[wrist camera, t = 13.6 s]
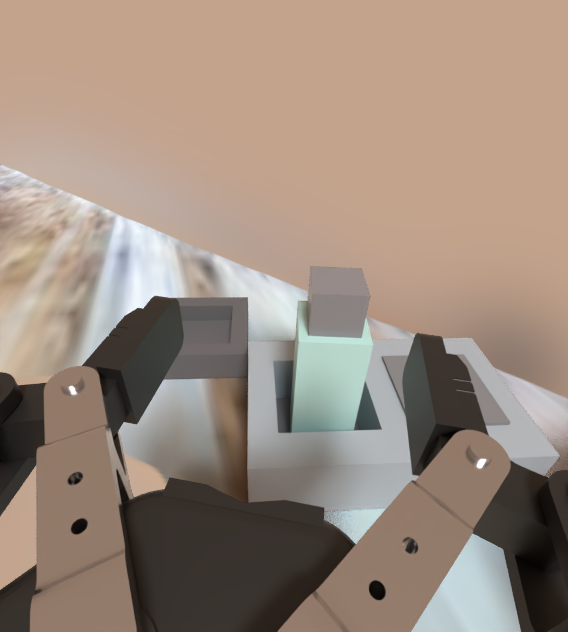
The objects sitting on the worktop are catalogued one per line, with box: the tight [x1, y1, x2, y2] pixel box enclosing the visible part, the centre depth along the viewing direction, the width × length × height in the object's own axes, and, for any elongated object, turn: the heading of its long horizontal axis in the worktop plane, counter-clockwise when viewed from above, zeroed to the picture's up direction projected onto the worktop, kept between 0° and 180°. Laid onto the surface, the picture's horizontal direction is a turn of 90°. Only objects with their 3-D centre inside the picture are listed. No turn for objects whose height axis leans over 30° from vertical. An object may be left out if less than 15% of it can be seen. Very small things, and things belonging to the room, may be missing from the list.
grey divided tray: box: [247, 338, 560, 511], centre depth 30 cm, size 20×12×6 cm, turn 94°
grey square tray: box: [164, 297, 248, 379], centre depth 39 cm, size 10×10×3 cm
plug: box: [290, 266, 373, 433], centre depth 26 cm, size 4×4×14 cm
